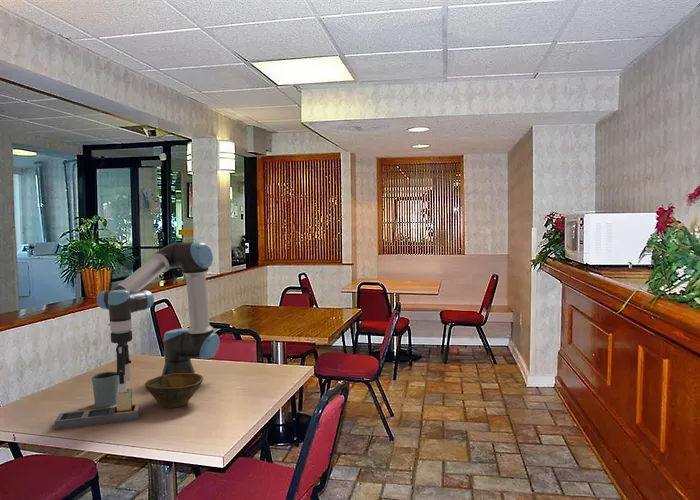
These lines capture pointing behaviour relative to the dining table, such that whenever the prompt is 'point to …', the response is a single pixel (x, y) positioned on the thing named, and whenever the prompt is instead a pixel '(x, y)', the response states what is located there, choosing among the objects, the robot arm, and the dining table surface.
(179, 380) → the bowl
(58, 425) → the grey compartment tray
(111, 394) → the grey-green cup
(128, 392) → the beige recessed-panel block
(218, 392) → the dining table surface
